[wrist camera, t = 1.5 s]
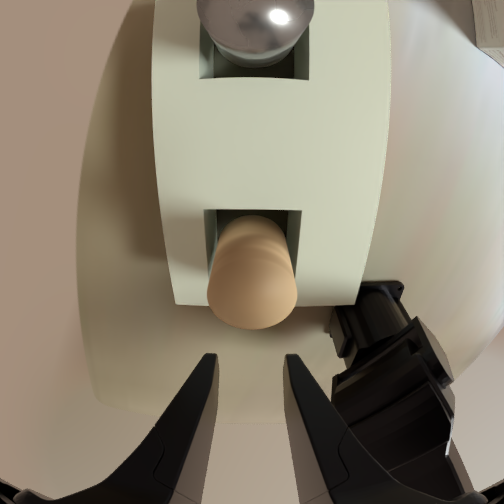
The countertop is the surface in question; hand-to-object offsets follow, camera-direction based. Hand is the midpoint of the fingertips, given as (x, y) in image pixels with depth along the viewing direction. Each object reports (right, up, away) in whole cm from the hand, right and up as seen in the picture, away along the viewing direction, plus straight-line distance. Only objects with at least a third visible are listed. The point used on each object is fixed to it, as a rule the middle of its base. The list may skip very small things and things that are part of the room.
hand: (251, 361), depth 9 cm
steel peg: (0, +15, +1) cm, 15 cm away
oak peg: (0, +4, +7) cm, 8 cm away
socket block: (+1, +11, +8) cm, 14 cm away
